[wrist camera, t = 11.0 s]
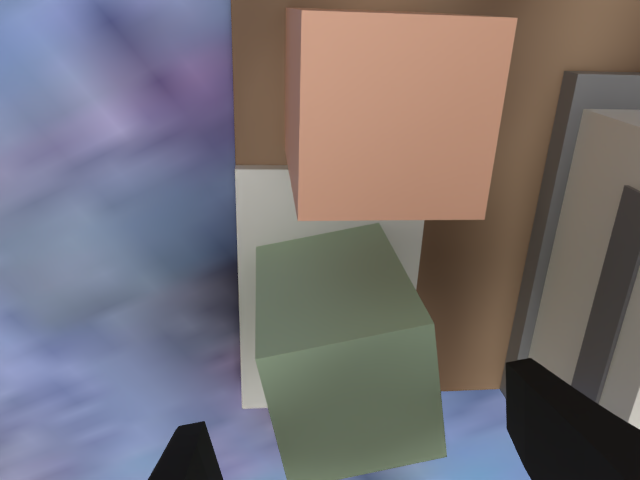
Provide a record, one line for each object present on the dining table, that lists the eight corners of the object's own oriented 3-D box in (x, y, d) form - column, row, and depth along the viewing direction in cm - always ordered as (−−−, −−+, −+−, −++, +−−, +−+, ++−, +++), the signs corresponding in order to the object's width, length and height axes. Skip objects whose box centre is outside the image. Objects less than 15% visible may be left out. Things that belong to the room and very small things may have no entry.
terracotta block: (425, 12, 16) (517, 17, 10) (411, 149, 17) (484, 219, 12) (285, 7, 15) (301, 10, 10) (284, 149, 17) (297, 221, 11)
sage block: (379, 222, 17) (434, 323, 12) (392, 326, 19) (446, 456, 14) (256, 246, 17) (254, 359, 12) (280, 349, 19) (289, 489, 14)
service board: (824, -385, 14) (864, -412, 13) (604, 368, 23) (618, 383, 22) (219, -462, 12) (216, -500, 11) (242, 382, 21) (242, 399, 20)
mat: (425, 165, 17) (430, 170, 17) (399, 392, 21) (403, 401, 20) (235, 165, 17) (234, 169, 16) (242, 399, 20) (242, 408, 20)
